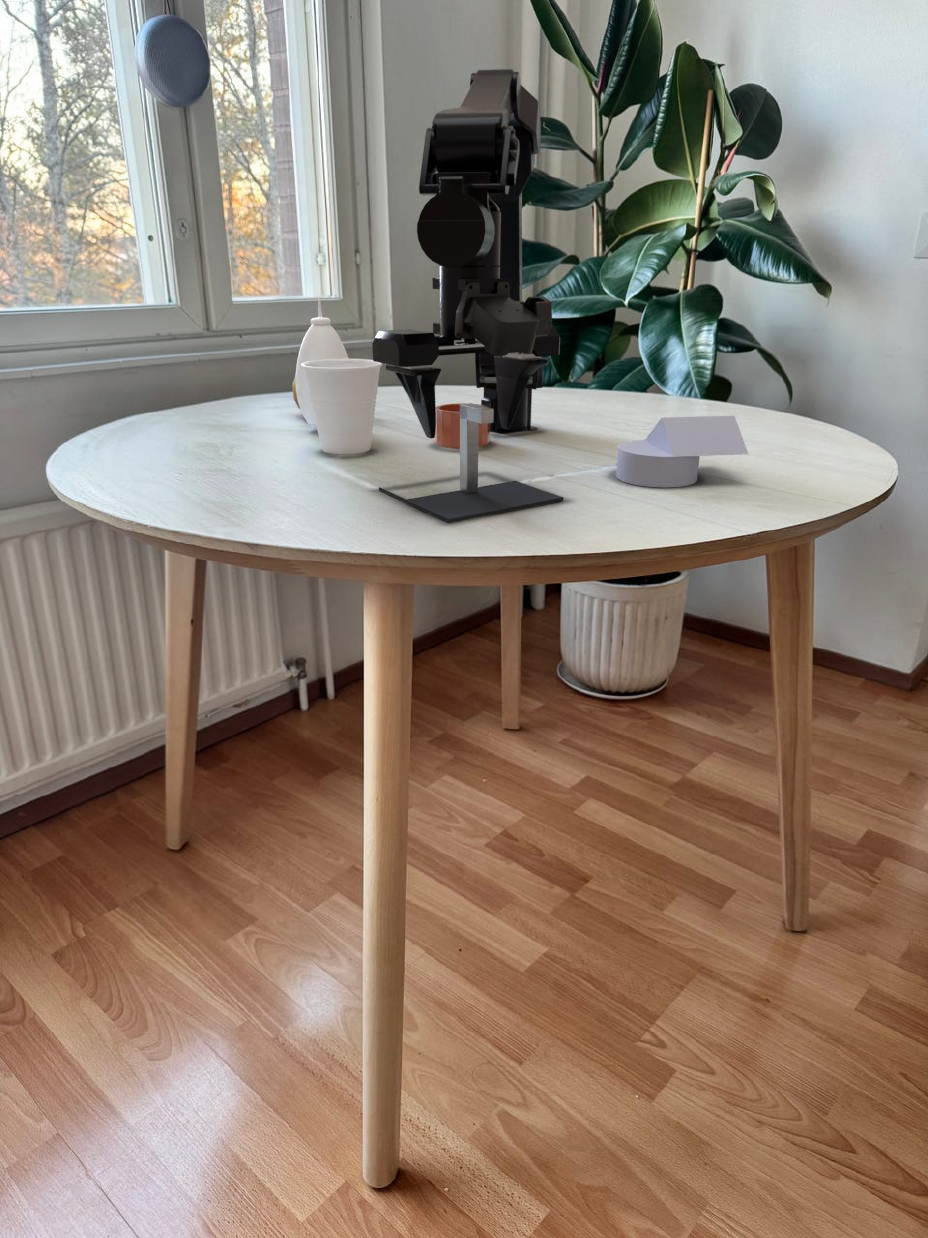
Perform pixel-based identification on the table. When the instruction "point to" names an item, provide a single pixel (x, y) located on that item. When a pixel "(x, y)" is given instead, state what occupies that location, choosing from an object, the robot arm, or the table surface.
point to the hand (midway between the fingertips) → (469, 432)
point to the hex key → (471, 443)
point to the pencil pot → (455, 427)
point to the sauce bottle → (316, 357)
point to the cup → (343, 402)
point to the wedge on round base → (677, 450)
